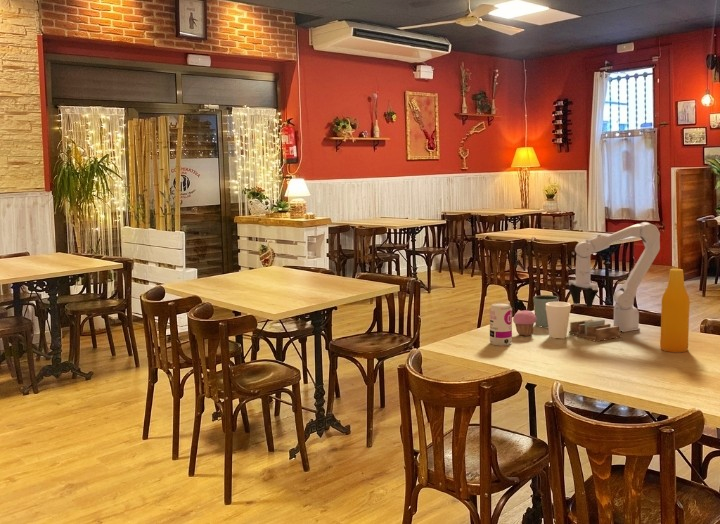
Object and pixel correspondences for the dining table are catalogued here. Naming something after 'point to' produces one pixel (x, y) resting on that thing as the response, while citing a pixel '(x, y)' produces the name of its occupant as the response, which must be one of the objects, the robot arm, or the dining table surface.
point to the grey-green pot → (542, 308)
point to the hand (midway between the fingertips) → (582, 305)
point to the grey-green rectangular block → (593, 323)
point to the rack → (594, 331)
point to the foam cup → (558, 318)
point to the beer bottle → (675, 314)
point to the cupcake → (524, 322)
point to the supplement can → (500, 324)
